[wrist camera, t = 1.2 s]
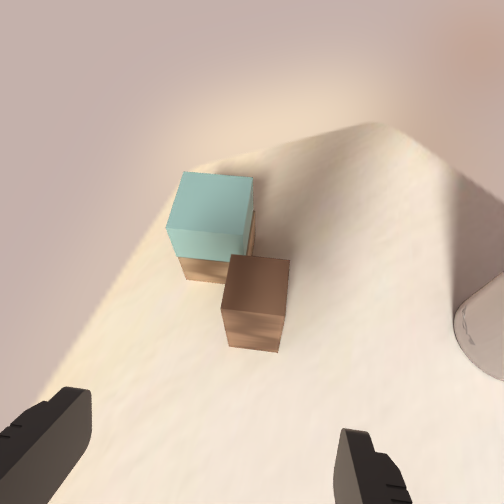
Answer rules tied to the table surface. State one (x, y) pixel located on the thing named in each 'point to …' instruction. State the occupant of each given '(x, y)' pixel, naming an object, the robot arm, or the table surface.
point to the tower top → (211, 216)
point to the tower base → (213, 264)
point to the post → (255, 302)
